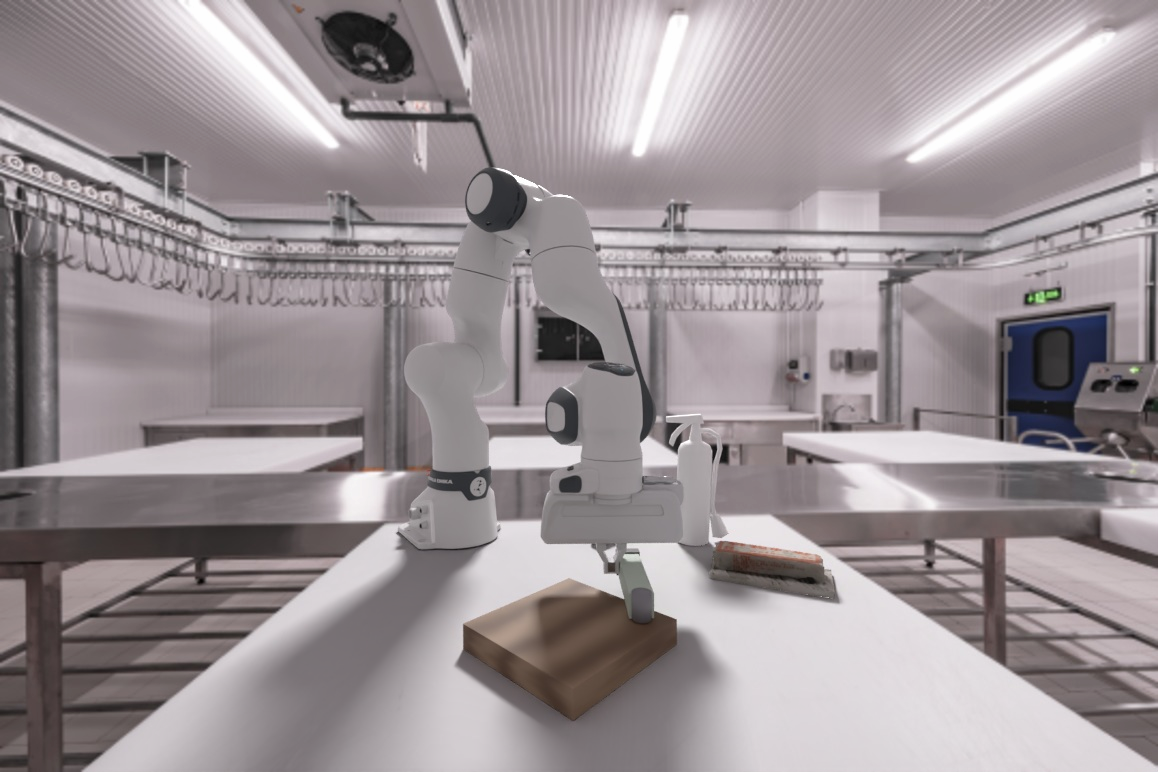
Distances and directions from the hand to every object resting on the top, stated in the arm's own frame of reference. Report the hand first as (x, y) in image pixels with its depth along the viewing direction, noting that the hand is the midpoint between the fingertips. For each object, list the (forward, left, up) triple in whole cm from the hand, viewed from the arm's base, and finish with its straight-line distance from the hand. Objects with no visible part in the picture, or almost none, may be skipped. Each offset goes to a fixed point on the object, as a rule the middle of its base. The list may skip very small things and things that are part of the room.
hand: (611, 572), depth 70 cm
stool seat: (+4, -13, -4) cm, 14 cm away
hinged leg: (+5, -2, -1) cm, 6 cm away
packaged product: (+13, +24, -5) cm, 28 cm away
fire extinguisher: (-4, +31, -4) cm, 32 cm away
